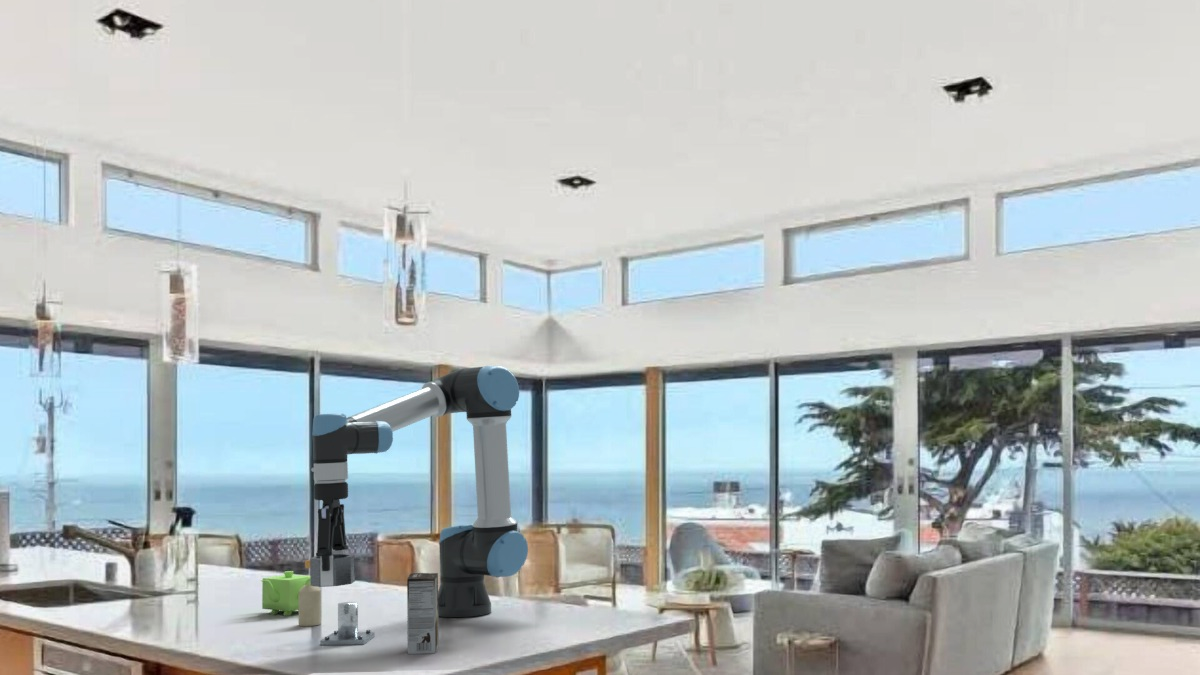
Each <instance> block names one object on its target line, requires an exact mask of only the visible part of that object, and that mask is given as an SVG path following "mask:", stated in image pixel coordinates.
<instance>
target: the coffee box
mask: <svg viewBox="0 0 1200 675" xmlns="http://www.w3.org/2000/svg"><path fill="white" fill-rule="evenodd" d="M438 578H439V573H438V572H435V573H433V572H432V573H429V572H419V573H418V572H416V573H415V572H414V573H409V575H408V577H407V579H406V580H407V581H406V587H407V588H406V589H407V592H406V595H407V598H406V600H407V602H406V605H407V606H406V607H407V611H406V612H407V617H406V619H407V654H408V655H419V654H420V655H421V654H422V655H424V654H437V652H438V648H439V645H440V638H439V635H440V634H439V632H440V631H439V628H440V627H439V616H438V591H439V579H438Z"/></svg>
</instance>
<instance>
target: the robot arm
mask: <svg viewBox="0 0 1200 675" xmlns="http://www.w3.org/2000/svg"><path fill="white" fill-rule="evenodd" d="M519 398H520V387H519V384H518V380H517V378H516V377H515V375H514V374H513V373H512V372H511V371H510V370H509V369H508V368H506V367H505V366H500V365H486V366H477V367H469V368H468V367H467V368H466V367H465V368H461V369H457V370H454V371H452V372H449V373H446V374H444V375H442V376H439V377H437V378H436V379H434V380H431V381H427V382H426V383H424V384H423V385H422V387H421V389H418V390H415V391H413V392H410V393H408V394H405V395H402V396H400V397H397V398H394V399H392V400H389V401H387V402H384V403H382V404H379V405H376V406H374V407H371V408H369V409H366V410H363V411H361V412H359V413H355V414H353V415H350V416H348V417H347V414H345V413H319V414H315V415H314V417H313V419H312V433H311V435H312V456H313V457H312V460H313V467H311V469H310V470H311V472H313V480H314V481H315V482H316V483H314V485H313V499H314V500H315V501H322V507H320V508H318V510H317V515H318V524H317V546H316V548H317V549H316V553H315V556H320V574H321V586H329V587H334V586H333V585H334V574H333V555H332V554H345V550H346V551H347V550H348V545H347V537H346V536H347V535H346V525H345V504H343V503H341V501H340V500H345V499H347V498H348V497H349V484H348V482H347V481H346V480H348V478H349V471H348V469H349V467H348V466H349V465H348V455H353V454H354V455H355V454H356V455H361V454H378V453H379V454H380V453H384V452H385V453H386V452H387V451H388V450H390V448H391V447H392V445H393V442H394V441H393V440H394V437H393V436H394V433H393V432H395V431H398V430H400V429H403V428H405V427H408V426H410V425H412V424H415V423H417V422H420V421H422V420H423V421H424V419H427V418H430V417H434V418H440V417H442V416H445V415H448V414H457V413H465V414H466V420H467V421H468V422H469V423H470V424H471V426H472V430H473V431H472V433H473V434H472V435H473V436H472V437H473V449H474V451H473V452H474V455H473V456H474V472H475V488H476V506H477V508H476V509H477V518H476V520H475V521H474V522H473V523H471V524H463V525H455V526H449V527H447V526H446V527H444V528H442V529H441V530H440V532H439V541H438V545H439V577H440V578H439V581H440V582H439V586H438V617H443V618H467V617H468V618H469V617H477V616H478V617H479V616H484V615H488V614H491V612H492V602H491V599H490V596H489V593H488V590H487V587H486V584H485V576H491V577H493V578H501V577H502V578H509V577H512V576H514V575H516V574H517V573H519V571H520V570H521V569H522V567H524V565H525V563H526V562H527V559H528V553H529V546H528V545H529V544H528V541H527V539H526V538H525V537H524V535H523V534H522V533H521V532H519V531H518V521H517V520H516V519H515V518H513V516H512V515H511V514H512V511H511V508H512V507H511V492H510V489H511V488H510V474H509V473H510V472H509V471H510V470H509V453H508V437H507V436H508V435H507V434H508V433H507V424H508V421H510V420H511V418H512V409H513V408H514V407H515V406H516V404H517V402H518V401H519Z"/></svg>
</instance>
